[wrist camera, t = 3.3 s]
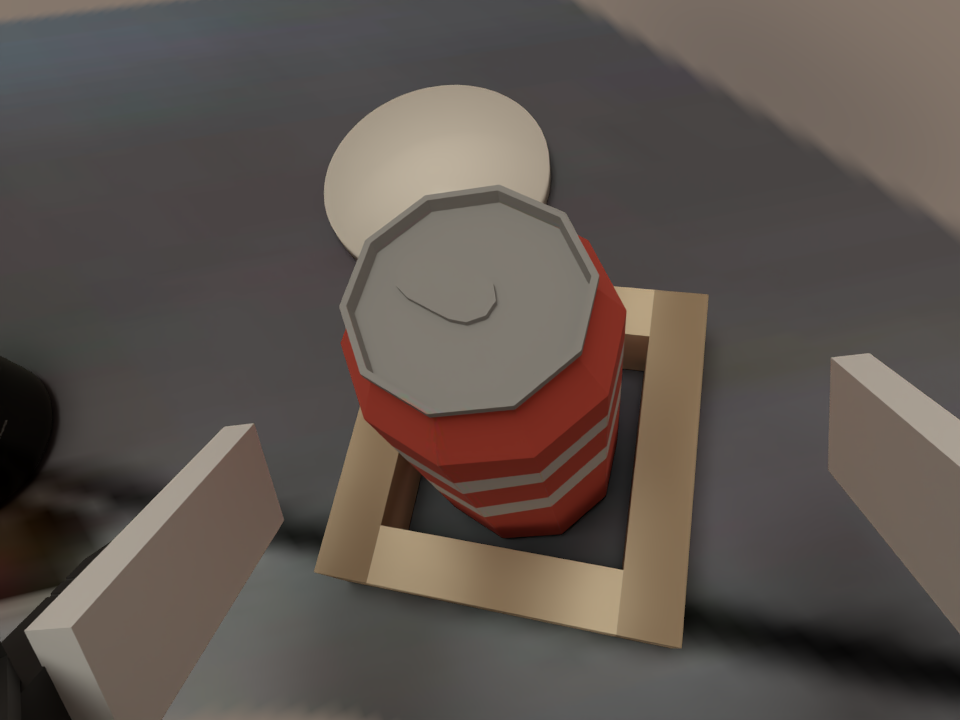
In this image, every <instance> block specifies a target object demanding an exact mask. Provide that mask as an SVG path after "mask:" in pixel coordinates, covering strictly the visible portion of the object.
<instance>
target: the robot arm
mask: <svg viewBox="0 0 960 720" xmlns="http://www.w3.org/2000/svg"><path fill="white" fill-rule="evenodd" d="M828 470H829V472H830V473H831V474H832V475H833V477H834V478H835V479H836V480H837V482H838V483H839V484H840V485H841V486H842V488H843V489H844V490H845V491H846V493H847V494H848V495H849V496H850V498H851V499H852V500H853V501H854V503H855V504H856V505H857V506H858V508H859V509H860V510H861V511H862V513H863V514H864V515H865V516H866V518H867V519H868V520H869V521H870V523H871V524H872V525H873V526H874V528H875V529H876V530H877V531H878V532H879V534H880V535H881V536H882V537H883V539H884V540H885V541H886V542H887V544H888V545H889V546H890V547H891V549H892V550H893V551H894V552H895V554H896V555H897V556H898V557H899V559H900V560H901V561H902V562H903V564H904V565H905V566H906V567H907V569H908V570H909V571H910V572H911V574H912V575H913V576H914V577H915V578H916V580H917V581H918V582H919V583H920V585H921V586H922V587H923V588H924V590H925V591H926V592H927V593H928V595H929V596H930V597H931V598H932V600H933V601H934V602H935V603H936V605H937V606H938V607H939V608H940V610H941V611H942V612H943V613H944V615H945V616H946V617H947V618H948V620H949V621H950V622H951V623H952V624H953V626H954V627H955V628H956V629H957V631H958V632H959V633H960V420H959V419H958V418H956V417H955V416H953V415H952V414H951V413H949V412H948V411H947V410H945V409H944V408H943V407H941V406H940V405H939V404H937V403H936V402H935V401H933V400H932V399H930V398H929V397H928V396H926V395H925V394H924V393H922V392H921V391H920V390H918V389H917V388H916V387H914V386H913V385H912V384H910V383H909V382H907V381H906V380H905V379H903V378H902V377H901V376H899V375H898V374H897V373H895V372H894V371H893V370H891V369H890V368H888V367H887V366H886V365H884V364H883V363H882V362H880V361H879V360H878V359H876V358H875V357H874V356H872V355H871V354H870V353H867V354H858V355H849V356H840V357H832V358H831V378H830V415H829V452H828ZM283 521H284V518H283V515H282V512H281V509H280V505H279V502H278V499H277V496H276V493H275V489H274V486H273V483H272V480H271V476H270V473H269V470H268V467H267V464H266V460H265V457H264V454H263V451H262V447H261V444H260V441H259V438H258V434H257V431H256V428H255V425H254V423H253V424H244V425H235V426H226V427H224V428H223V429H222V430H221V431H220V432H219V433H218V434H217V435H216V436H215V437H214V438H213V439H212V440H211V441H210V442H209V443H208V444H207V445H206V446H205V447H204V448H203V449H202V450H201V451H200V452H199V453H198V454H197V455H196V456H195V457H194V458H193V459H192V460H191V461H190V462H189V463H188V464H187V465H186V466H185V467H184V468H183V469H182V470H181V471H180V472H179V473H178V474H177V475H176V476H175V477H174V478H173V480H172V481H171V482H170V483H169V484H168V485H167V486H166V487H165V488H164V489H163V490H162V491H161V492H160V493H159V494H158V495H157V496H156V497H155V498H154V499H153V500H152V501H151V502H150V503H149V504H148V505H147V506H146V507H145V508H144V509H143V510H142V511H141V512H140V513H139V514H138V515H137V516H136V517H135V518H134V519H133V520H132V521H131V522H130V523H129V524H128V525H127V526H126V527H125V528H124V529H123V531H122V532H121V533H120V534H119V535H118V536H117V537H116V538H115V539H114V540H113V541H111V542H110V543H108V544H107V545H105V546H104V547H102V548H101V549H99V550H98V551H96V552H95V553H93V554H92V555H90V556H89V557H87V558H86V559H85V560H84V561H83V562H82V563H81V564H80V565H79V566H78V567H77V568H76V569H75V570H74V571H73V572H72V573H71V574H70V575H69V576H68V577H67V578H66V581H63V582H62V583H61V584H60V585H59V586H58V587H57V588H56V589H55V590H54V591H53V592H52V593H51V597H47V598H46V599H45V600H44V601H43V602H42V603H41V604H40V605H39V606H38V607H37V608H36V609H35V610H34V611H33V612H32V613H31V614H30V615H29V616H28V617H27V618H26V619H25V620H24V621H23V622H21V623H20V624H19V625H18V626H17V627H16V628H15V629H14V630H13V631H12V632H11V633H10V634H9V635H8V636H7V637H6V638H5V639H4V640H3V641H2V642H0V720H162V718H163V717H164V715H165V713H166V712H167V710H168V708H169V707H170V705H171V704H172V702H173V700H174V699H175V697H176V695H177V694H178V692H179V691H180V689H181V687H182V686H183V684H184V682H185V681H186V679H187V678H188V676H189V674H190V673H191V671H192V669H193V668H194V666H195V664H196V663H197V661H198V660H199V658H200V656H201V655H202V653H203V651H204V650H205V648H206V647H207V645H208V643H209V642H210V640H211V638H212V637H213V635H214V634H215V632H216V630H217V629H218V627H219V625H220V624H221V622H222V620H223V619H224V617H225V616H226V614H227V612H228V611H229V609H230V607H231V606H232V604H233V603H234V601H235V599H236V598H237V596H238V594H239V593H240V591H241V589H242V588H243V586H244V585H245V583H246V581H247V580H248V578H249V576H250V575H251V573H252V572H253V570H254V568H255V567H256V565H257V563H258V562H259V560H260V559H261V557H262V555H263V554H264V552H265V550H266V549H267V547H268V545H269V544H270V542H271V541H272V539H273V537H274V536H275V534H276V532H277V531H278V529H279V528H280V526H281V524H282V523H283Z"/></svg>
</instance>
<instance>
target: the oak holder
mask: <svg viewBox="0 0 960 720" xmlns="http://www.w3.org/2000/svg"><path fill="white" fill-rule="evenodd" d="M614 288H615V290H616V292H617V294H618V296H619V297H620V299H621V301H622V303H623V305H624V307H625V308H626V310H627V312H626V326H625V340H624V354H623V367H622V369H630V370H639V371H644V376H643V384H642V393H641V402H640V411H639V420H638V429H637V438H636V447H635V456H634V465H633V474H632V483H631V492H630V501H629V510H628V519H627V528H626V536H625V545H624V554H623V563H622V570H620V569H615V568H609V567H604V566H598V565H593V564H588V563H582V562H577V561H571V560H566V559H560V558H555V557H550V556H544V555H539V554H533V553H528V552H522V551H517V550H512V549H506V548H501V547H495V546H490V545H485V544H479V543H474V542H468V541H463V540H457V539H452V538H447V537H441V536H436V535H430V534H425V533H419V532H414V531H409V525H410V521H411V517H412V512H413V508H414V504H415V500H416V495H417V491H418V487H419V482H420V478H421V473H420V472H418V471H417V470H416V469H415V468H414V467H413V466H412V465H411V464H410V463H409V462H408V461H407V460H406V459H405V458H404V457H403V456H402V455H401V454H400V453H399V452H398V451H397V450H396V449H395V448H394V447H392V446H391V445H390V444H389V443H388V442H387V441H386V440H385V439H384V438H383V437H382V436H381V435H380V434H379V433H378V432H377V431H376V430H375V429H374V428H373V427H372V426H371V425H370V424H369V423H368V422H367V421H365V420H364V418H363V414H362V411H361V408H360V409H359V412H358V416H357V419H356V423H355V426H354V430H353V434H352V437H351V441H350V444H349V448H348V452H347V455H346V459H345V462H344V466H343V470H342V473H341V477H340V480H339V484H338V488H337V491H336V495H335V498H334V502H333V505H332V509H331V513H330V516H329V520H328V523H327V527H326V531H325V534H324V538H323V541H322V545H321V549H320V552H319V556H318V559H317V563H316V567H315V570H314V572H315V573H319V574H323V575H326V576H330V577H334V578H338V579H341V580H345V581H349V582H354V583H359V584H364V585H369V586H373V587H378V588H383V589H388V590H393V591H397V592H402V593H407V594H412V595H417V596H421V597H426V598H431V599H436V600H441V601H446V602H450V603H455V604H460V605H465V606H470V607H474V608H479V609H484V610H489V611H494V612H498V613H503V614H508V615H513V616H518V617H523V618H527V619H532V620H537V621H542V622H547V623H551V624H556V625H561V626H566V627H571V628H575V629H580V630H585V631H590V632H595V633H599V634H604V635H609V636H614V637H619V638H624V639H628V640H633V641H638V642H643V643H648V644H652V645H657V646H662V647H667V648H682V637H683V623H684V610H685V597H686V584H687V571H688V558H689V545H690V532H691V518H692V505H693V492H694V479H695V466H696V453H697V440H698V426H699V413H700V400H701V387H702V374H703V361H704V348H705V335H706V321H707V308H708V295H706V294H694V293H683V292H672V291H660V290H649V289H637V288H626V287H614Z"/></svg>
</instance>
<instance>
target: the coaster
mask: <svg viewBox="0 0 960 720" xmlns="http://www.w3.org/2000/svg"><path fill="white" fill-rule="evenodd" d="M550 184H551V174H550V162H549V153H548V148H547V144H546V140H545V138H544V135H543V133H542V131H541V129H540V127H539V126H538V124H537V122H536V121H535V120H534V118H533V117H532V116H531V115H530V114H529V113H528V112H527V111H526V110H525V109H524V108H523V107H521V106H520V105H519V104H518V103H516V102H515V101H513V100H511V99H510V98H508V97H506V96H504V95H502V94H499V93H497V92H494V91H491V90H488V89H484V88H479V87H474V86H465V85H443V86H436V87H429V88H425V89H420V90H416V91H413V92H410V93H407V94H404V95H402V96H400V97H397V98H395V99H393V100H391V101H389V102H387V103H385V104H383V105H382V106H380V107H378V108H377V109H375V110H374V111H372V112H371V113H370V114H368V115H367V116H366V117H364V118H363V119H362V120H361V121H360V122H359V123H358V124H356V126H355V127H354V128H353V129H352V130H351V131H350V132H349V133H348V134H347V135H346V137H345V138H344V139H343V141H342V142H341V143H340V145H339V147H338V148H337V150H336V152H335V153H334V155H333V157H332V160H331V162H330V165H329V167H328V171H327V174H326V178H325V186H324V203H325V208H326V213H327V216H328V218H329V221H330V224H331V226H332V227H333V229H334V231H335V233H336V234H337V236H338V237H339V239H340V241H341V242H342V244H343V245H344V247H345V248H346V249H347V251H348V252H349V253H350V254H351V255H352V257H353V258H355V259H356V260H358V257H359V255H360V252H361V250H362V247H363V244H364V242H365V240H366V239H367V238H369V237H370V236H371V235H373V234H374V233H375V232H377V231H378V230H379V229H381V228H382V227H383V226H385V225H386V224H387V223H389V222H390V221H391V220H393V219H394V218H395V217H397V216H398V215H399V214H401V213H402V212H403V211H405V210H406V209H407V208H409V207H410V206H411V205H413V204H414V203H415V202H417V201H418V200H419V199H421V198H422V197H423V196H425V195H430V194H437V193H444V192H451V191H458V190H465V189H472V188H479V187H486V186H493V185H502V186H504V187H506V188H509V189H511V190H513V191H516V192H518V193H520V194H523V195H525V196H527V197H530V198H532V199H534V200H537V201H539V202H541V203H544V204H547V200H548V197H549V193H550Z"/></svg>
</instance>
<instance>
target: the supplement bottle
mask: <svg viewBox="0 0 960 720" xmlns="http://www.w3.org/2000/svg"><path fill="white" fill-rule="evenodd" d="M52 421H53V412H52V405H51V400H50V397H49V394H48V392H47V390H46V388H45V386H44V385H43V383H42V382H41V381H40V380H39V379H38V378H37V376H35V375H34V374H33V373H32V372H30V371H28V370H27V369H25V368H23V367H22V366H20V365H18V364H16V363H14V362H11V361H9V360H8V359H6V358H4V357H2V356H0V503H1V502H2V501H4V500H5V499H7V498H8V497H9V496H10V495H12V494H13V493H14V492H15V491H16V490H17V489H18V488H19V487H20V486H21V485H22V484H23V483H24V482H25V481H26V480H27V478H28V477H29V476H30V475H31V473H32V472H33V471H34V469H35V468H36V466H37V465H38V463H39V461H40V460H41V458H42V456H43V454H44V451H45V449H46V447H47V444H48V441H49V438H50V434H51V429H52Z"/></svg>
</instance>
